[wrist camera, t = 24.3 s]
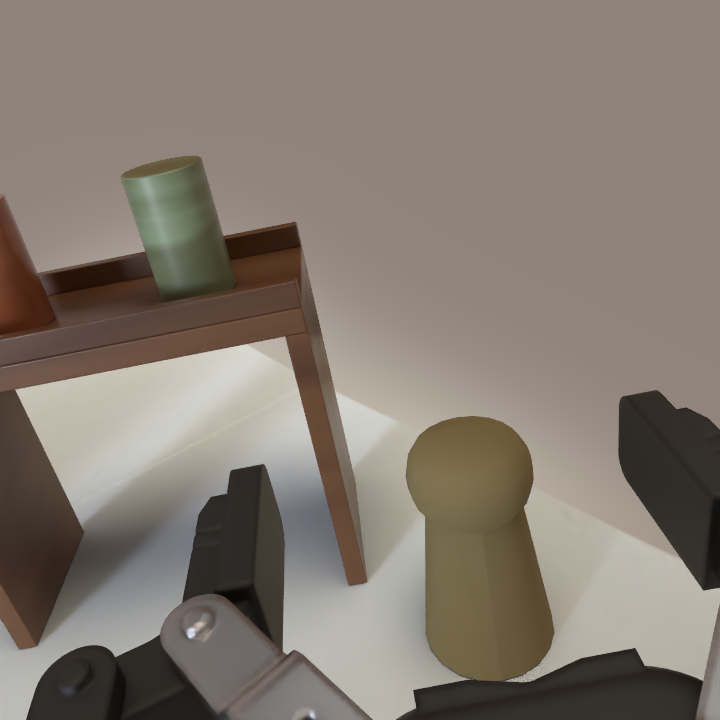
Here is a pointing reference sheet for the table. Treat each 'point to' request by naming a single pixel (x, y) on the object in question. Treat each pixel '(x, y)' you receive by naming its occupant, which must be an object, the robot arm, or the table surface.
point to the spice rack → (147, 357)
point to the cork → (479, 549)
